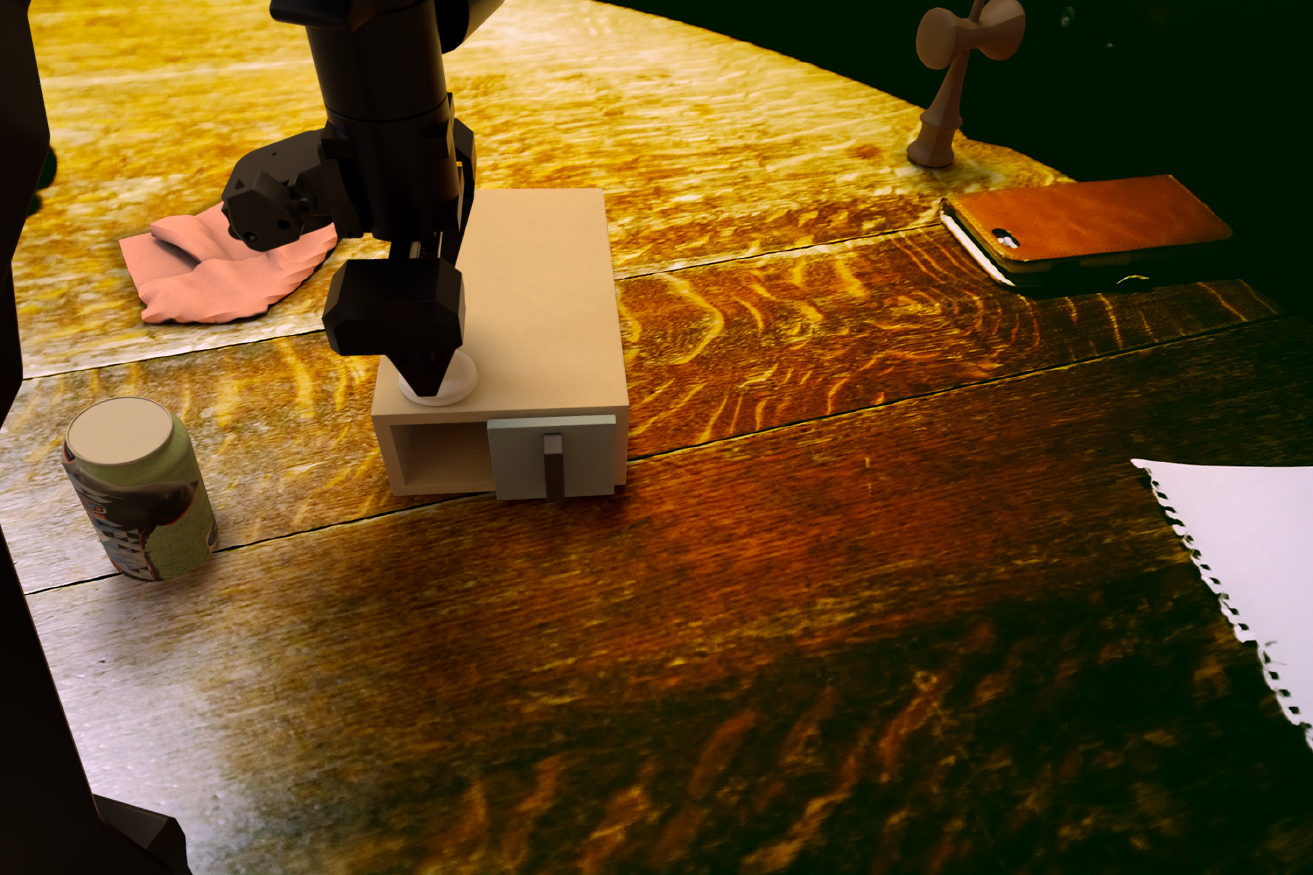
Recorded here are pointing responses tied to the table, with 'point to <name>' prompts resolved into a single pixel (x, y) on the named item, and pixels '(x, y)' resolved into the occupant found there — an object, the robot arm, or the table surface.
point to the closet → (516, 340)
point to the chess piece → (448, 382)
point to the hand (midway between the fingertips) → (433, 342)
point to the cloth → (215, 269)
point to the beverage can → (141, 487)
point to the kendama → (959, 66)
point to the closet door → (553, 457)
